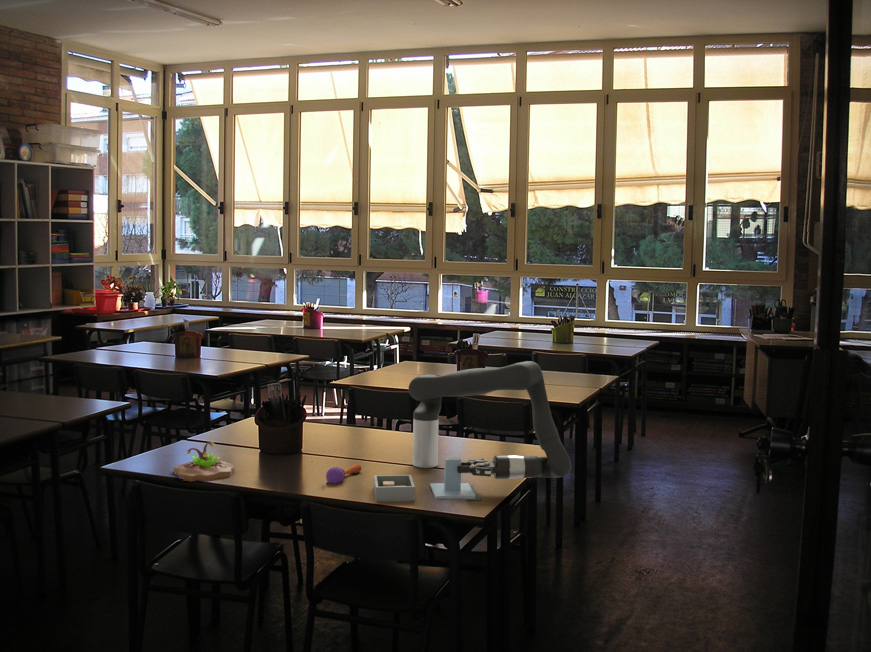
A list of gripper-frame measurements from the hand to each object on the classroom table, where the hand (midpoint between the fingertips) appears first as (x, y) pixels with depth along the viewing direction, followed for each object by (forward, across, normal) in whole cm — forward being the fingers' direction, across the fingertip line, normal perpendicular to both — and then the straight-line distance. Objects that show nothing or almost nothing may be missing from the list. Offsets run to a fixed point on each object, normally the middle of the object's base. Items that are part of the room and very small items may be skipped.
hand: (456, 467), depth 257 cm
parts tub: (+20, +2, +8) cm, 22 cm away
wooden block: (+22, -1, +8) cm, 23 cm away
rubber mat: (0, 0, +8) cm, 9 cm away
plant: (+84, -30, +9) cm, 89 cm away
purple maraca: (+36, -20, +9) cm, 42 cm away
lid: (+1, 0, +8) cm, 8 cm away
